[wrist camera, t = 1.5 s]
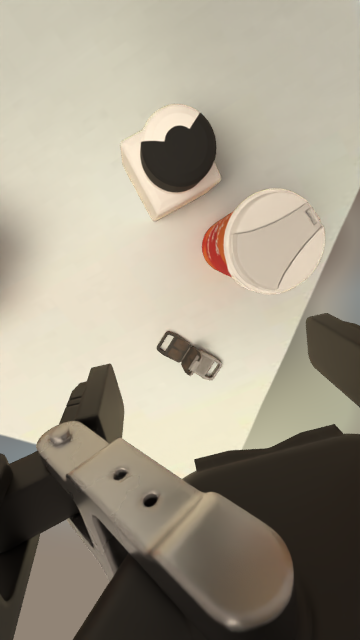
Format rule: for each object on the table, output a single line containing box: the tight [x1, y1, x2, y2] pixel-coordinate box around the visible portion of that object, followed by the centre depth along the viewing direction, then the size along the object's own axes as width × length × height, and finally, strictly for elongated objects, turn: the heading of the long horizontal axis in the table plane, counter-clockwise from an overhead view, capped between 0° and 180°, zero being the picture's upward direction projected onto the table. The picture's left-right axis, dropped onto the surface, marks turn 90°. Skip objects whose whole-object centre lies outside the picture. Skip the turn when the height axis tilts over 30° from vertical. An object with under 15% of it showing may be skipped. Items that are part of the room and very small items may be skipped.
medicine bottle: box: [120, 104, 221, 221], centre depth 31 cm, size 7×7×12 cm
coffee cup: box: [202, 188, 325, 294], centre depth 32 cm, size 8×8×15 cm
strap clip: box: [157, 332, 222, 380], centre depth 39 cm, size 8×3×4 cm, turn 58°
